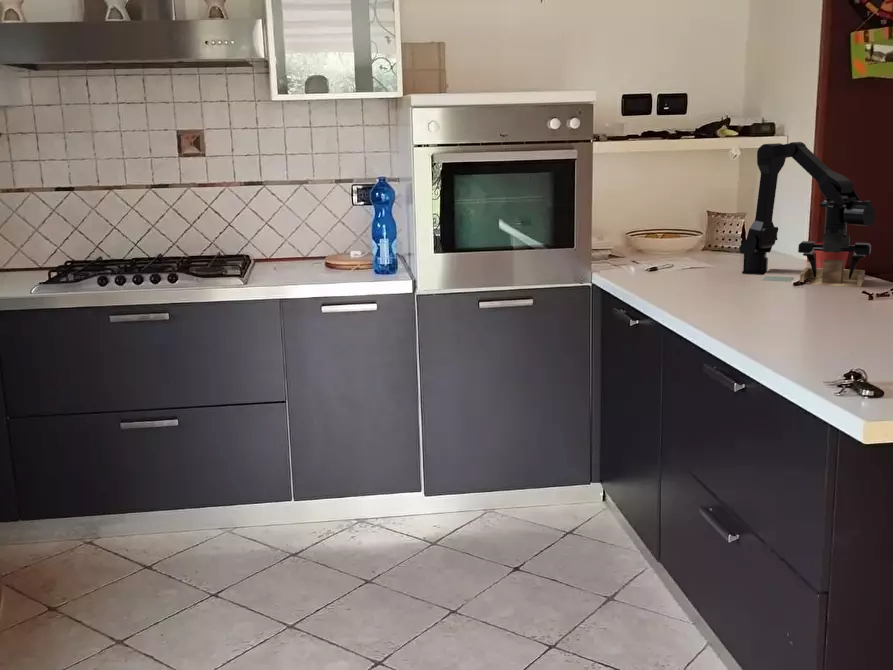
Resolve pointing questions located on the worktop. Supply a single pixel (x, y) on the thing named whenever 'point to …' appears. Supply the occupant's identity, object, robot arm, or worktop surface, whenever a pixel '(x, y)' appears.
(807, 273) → the crate
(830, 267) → the block
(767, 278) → the mat
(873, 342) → the worktop surface
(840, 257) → the flower pot
